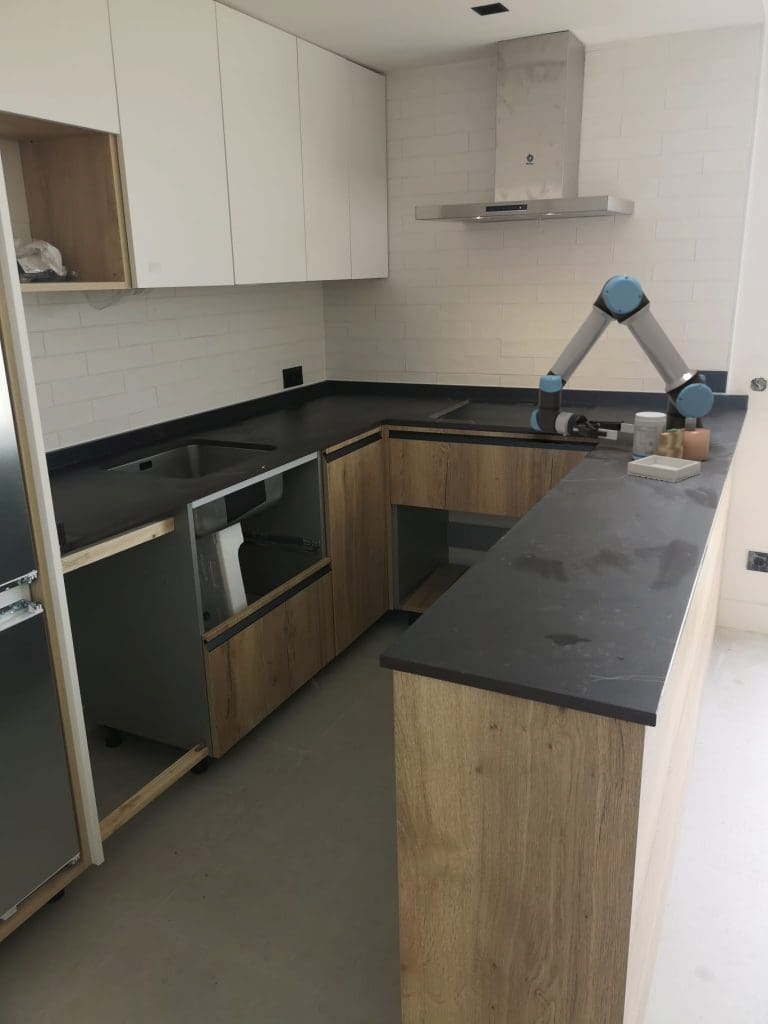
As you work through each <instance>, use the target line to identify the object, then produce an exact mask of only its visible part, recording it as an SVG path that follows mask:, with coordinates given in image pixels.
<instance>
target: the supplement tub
mask: <svg viewBox="0 0 768 1024" xmlns="http://www.w3.org/2000/svg"><path fill="white" fill-rule="evenodd" d="M634 417H635V418H634V424H633V425H634V433H633V441H632V443H633V444H632V459H633V461H635V460H639V459H642V458H645V457H648V456H652V455H658V446H659V434H662V433H665V432H666V417H667V413H663V412H658V411H657V412H656V411H642V412H637V413H635V416H634Z"/></svg>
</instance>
